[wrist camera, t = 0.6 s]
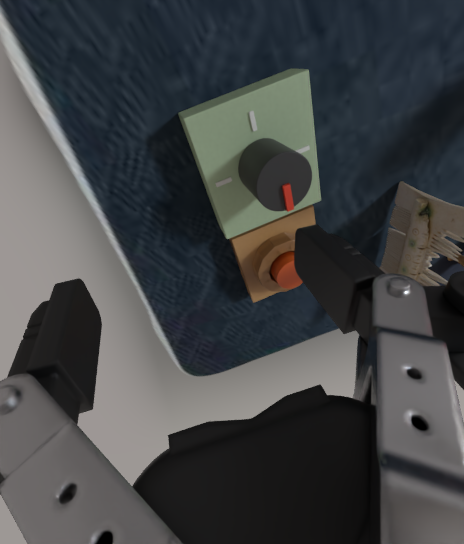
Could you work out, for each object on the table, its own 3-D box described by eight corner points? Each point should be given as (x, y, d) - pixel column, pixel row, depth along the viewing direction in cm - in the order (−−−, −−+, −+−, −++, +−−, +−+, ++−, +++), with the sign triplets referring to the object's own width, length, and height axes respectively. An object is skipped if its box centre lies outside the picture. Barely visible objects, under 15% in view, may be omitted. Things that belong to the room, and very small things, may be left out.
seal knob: (231, 149, 23) (251, 167, 19) (282, 129, 23) (311, 142, 20) (245, 198, 26) (265, 222, 22) (290, 180, 26) (317, 200, 22)
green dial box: (177, 112, 23) (183, 119, 21) (291, 68, 24) (310, 69, 21) (219, 226, 30) (227, 240, 28) (306, 190, 31) (322, 201, 28)
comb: (389, 181, 33) (469, 218, 25) (407, 176, 33) (492, 212, 25) (369, 279, 42) (423, 329, 34) (383, 275, 42) (441, 323, 34)
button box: (226, 230, 31) (236, 249, 28) (303, 198, 31) (322, 213, 28) (247, 291, 37) (258, 313, 33) (312, 264, 37) (329, 282, 34)
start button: (267, 259, 30) (274, 268, 28) (299, 246, 30) (307, 254, 29) (273, 284, 32) (280, 293, 31) (303, 271, 32) (311, 280, 31)
